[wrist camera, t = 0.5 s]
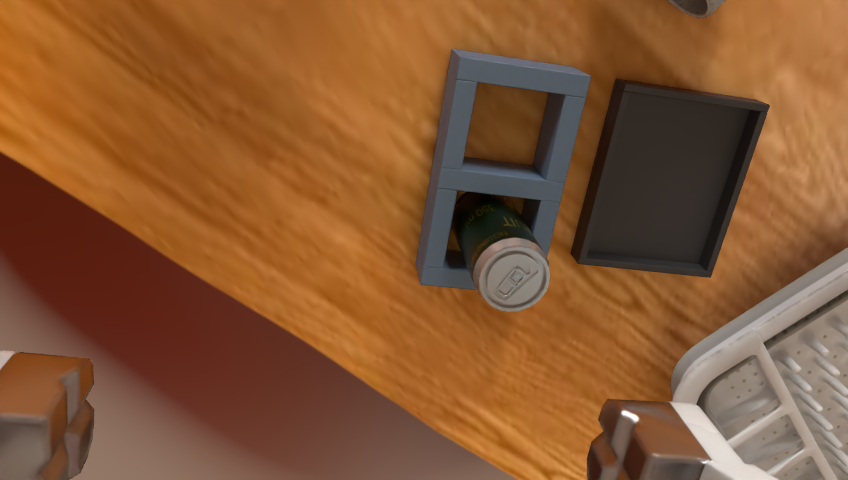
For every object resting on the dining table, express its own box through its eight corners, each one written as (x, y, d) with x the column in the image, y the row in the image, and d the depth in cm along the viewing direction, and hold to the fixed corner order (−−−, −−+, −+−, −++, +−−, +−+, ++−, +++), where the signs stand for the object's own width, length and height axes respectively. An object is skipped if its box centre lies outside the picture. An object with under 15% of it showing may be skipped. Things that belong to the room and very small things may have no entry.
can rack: (451, 48, 53) (460, 56, 49) (574, 67, 55) (591, 76, 51) (415, 263, 60) (420, 285, 56) (525, 274, 61) (537, 296, 58)
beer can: (485, 257, 60) (518, 328, 49) (437, 223, 59) (459, 288, 48) (526, 210, 59) (569, 271, 48) (478, 173, 57) (511, 228, 46)
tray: (615, 78, 55) (625, 83, 53) (755, 99, 57) (770, 105, 55) (570, 253, 61) (577, 264, 59) (699, 267, 63) (710, 277, 61)
